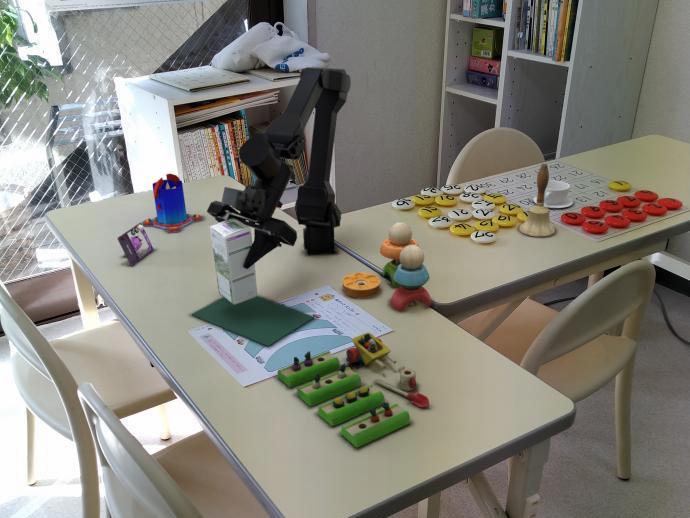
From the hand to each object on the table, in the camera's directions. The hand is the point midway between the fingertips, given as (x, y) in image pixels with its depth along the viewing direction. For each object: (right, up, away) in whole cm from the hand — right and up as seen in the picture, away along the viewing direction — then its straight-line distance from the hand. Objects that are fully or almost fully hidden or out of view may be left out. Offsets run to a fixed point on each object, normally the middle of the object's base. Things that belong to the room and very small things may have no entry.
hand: (232, 263), depth 139 cm
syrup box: (0, -6, +4) cm, 7 cm away
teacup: (+75, +22, +53) cm, 94 cm away
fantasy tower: (-22, +16, +46) cm, 54 cm away
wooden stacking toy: (+30, -5, +12) cm, 33 cm away
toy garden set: (+24, -23, -17) cm, 37 cm away
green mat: (+3, -10, +4) cm, 11 cm away
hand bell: (+67, +12, +38) cm, 78 cm away
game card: (-26, +5, +29) cm, 39 cm away
